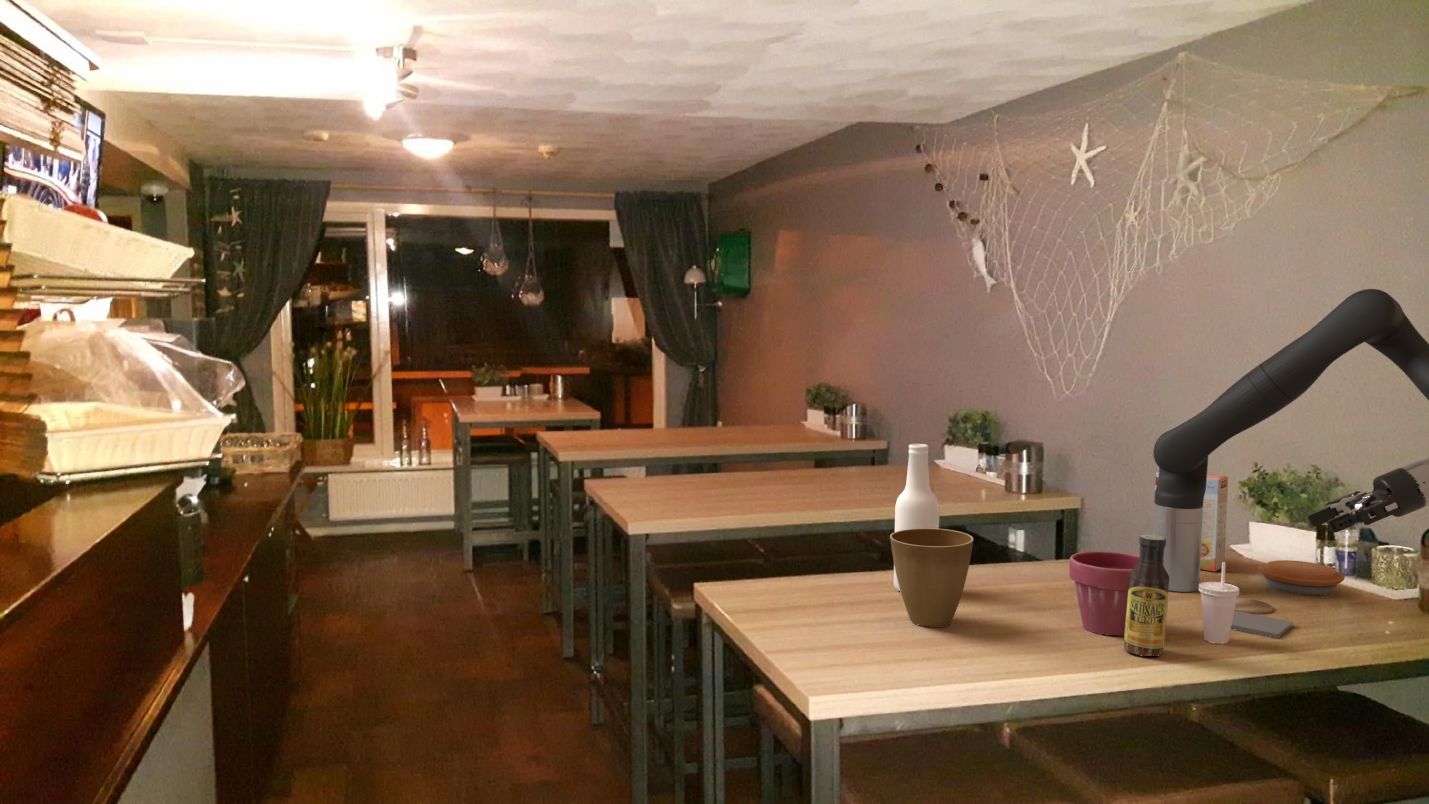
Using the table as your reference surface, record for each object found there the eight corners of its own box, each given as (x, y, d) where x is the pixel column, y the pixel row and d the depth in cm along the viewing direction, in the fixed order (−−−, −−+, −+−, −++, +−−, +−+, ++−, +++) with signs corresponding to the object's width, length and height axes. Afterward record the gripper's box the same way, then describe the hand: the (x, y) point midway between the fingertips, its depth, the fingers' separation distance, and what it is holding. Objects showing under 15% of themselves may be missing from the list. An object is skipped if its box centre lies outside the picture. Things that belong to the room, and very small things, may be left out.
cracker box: (1225, 568, 229) (1229, 475, 227) (1215, 573, 225) (1219, 478, 223) (1161, 557, 239) (1165, 468, 237) (1151, 561, 235) (1155, 471, 233)
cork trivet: (1211, 605, 200) (1211, 602, 200) (1233, 597, 205) (1233, 594, 205) (1258, 616, 193) (1258, 613, 193) (1280, 608, 198) (1280, 605, 198)
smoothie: (1234, 649, 174) (1239, 568, 173) (1193, 642, 177) (1197, 563, 176) (1238, 639, 179) (1242, 560, 178) (1198, 632, 183) (1202, 555, 182)
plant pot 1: (918, 605, 199) (920, 524, 198) (986, 622, 189) (989, 536, 187) (872, 621, 189) (873, 535, 187) (941, 640, 178) (943, 549, 177)
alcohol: (904, 597, 204) (907, 448, 202) (886, 585, 213) (889, 442, 210) (944, 594, 207) (948, 447, 204) (925, 583, 215) (929, 441, 212)
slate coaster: (1217, 626, 187) (1217, 622, 187) (1234, 614, 194) (1234, 610, 194) (1277, 638, 180) (1277, 634, 180) (1293, 625, 187) (1293, 621, 187)
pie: (1240, 583, 217) (1241, 560, 217) (1293, 576, 223) (1294, 553, 222) (1306, 602, 203) (1308, 577, 202) (1361, 594, 209) (1362, 570, 208)
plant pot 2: (1050, 622, 189) (1052, 553, 188) (1109, 613, 194) (1111, 547, 193) (1108, 645, 176) (1111, 572, 174) (1169, 635, 181) (1172, 564, 180)
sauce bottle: (1123, 655, 170) (1128, 538, 169) (1123, 644, 176) (1128, 530, 174) (1166, 661, 168) (1171, 542, 166) (1165, 649, 174) (1170, 534, 172)
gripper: (1383, 464, 184) (1294, 500, 186) (1423, 469, 170) (1326, 508, 172) (1402, 503, 183) (1312, 538, 186) (1444, 511, 169) (1347, 549, 172)
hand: (1319, 524), depth 179 cm, fingers open, 8 cm apart
